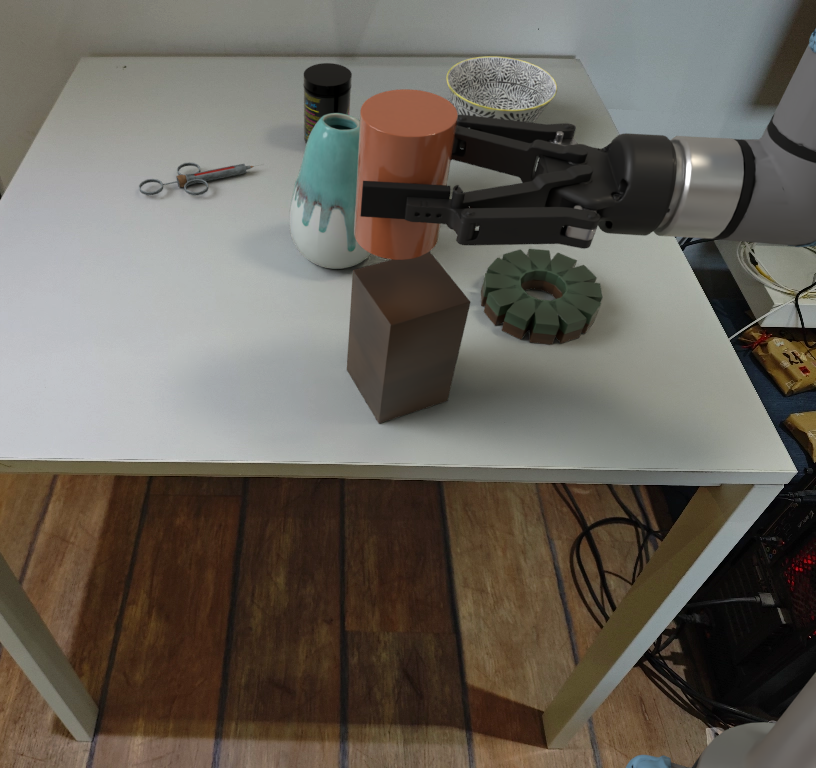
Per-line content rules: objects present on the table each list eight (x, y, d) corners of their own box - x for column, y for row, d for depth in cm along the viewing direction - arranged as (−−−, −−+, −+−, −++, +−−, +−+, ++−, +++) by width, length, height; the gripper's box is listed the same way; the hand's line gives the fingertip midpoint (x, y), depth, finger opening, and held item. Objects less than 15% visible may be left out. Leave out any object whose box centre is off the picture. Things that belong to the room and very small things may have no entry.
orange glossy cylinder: (445, 258, 59) (466, 134, 51) (358, 261, 59) (365, 138, 51) (431, 208, 64) (448, 87, 56) (350, 210, 64) (356, 90, 56)
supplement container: (335, 159, 105) (338, 90, 97) (295, 147, 107) (294, 78, 99) (356, 137, 109) (360, 69, 101) (316, 126, 111) (317, 59, 103)
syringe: (273, 184, 101) (272, 173, 100) (146, 210, 97) (143, 199, 96) (256, 155, 106) (256, 145, 104) (134, 179, 102) (132, 169, 100)
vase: (361, 215, 96) (370, 85, 82) (395, 269, 89) (411, 137, 75) (278, 233, 94) (273, 102, 80) (306, 289, 86) (306, 156, 73)
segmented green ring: (617, 325, 82) (626, 306, 80) (520, 356, 79) (526, 337, 77) (551, 257, 90) (557, 238, 88) (460, 284, 87) (464, 264, 85)
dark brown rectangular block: (447, 401, 75) (471, 301, 64) (378, 424, 73) (390, 325, 62) (412, 349, 80) (428, 249, 69) (346, 369, 78) (352, 269, 67)
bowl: (566, 133, 109) (580, 85, 104) (494, 169, 103) (505, 120, 97) (488, 92, 118) (498, 46, 112) (417, 123, 111) (423, 76, 106)
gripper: (671, 311, 52) (354, 289, 54) (620, 159, 65) (367, 145, 67) (715, 225, 46) (360, 203, 48) (650, 78, 60) (372, 65, 61)
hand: (364, 169), depth 57 cm, fingers closed on orange glossy cylinder, 7 cm apart
